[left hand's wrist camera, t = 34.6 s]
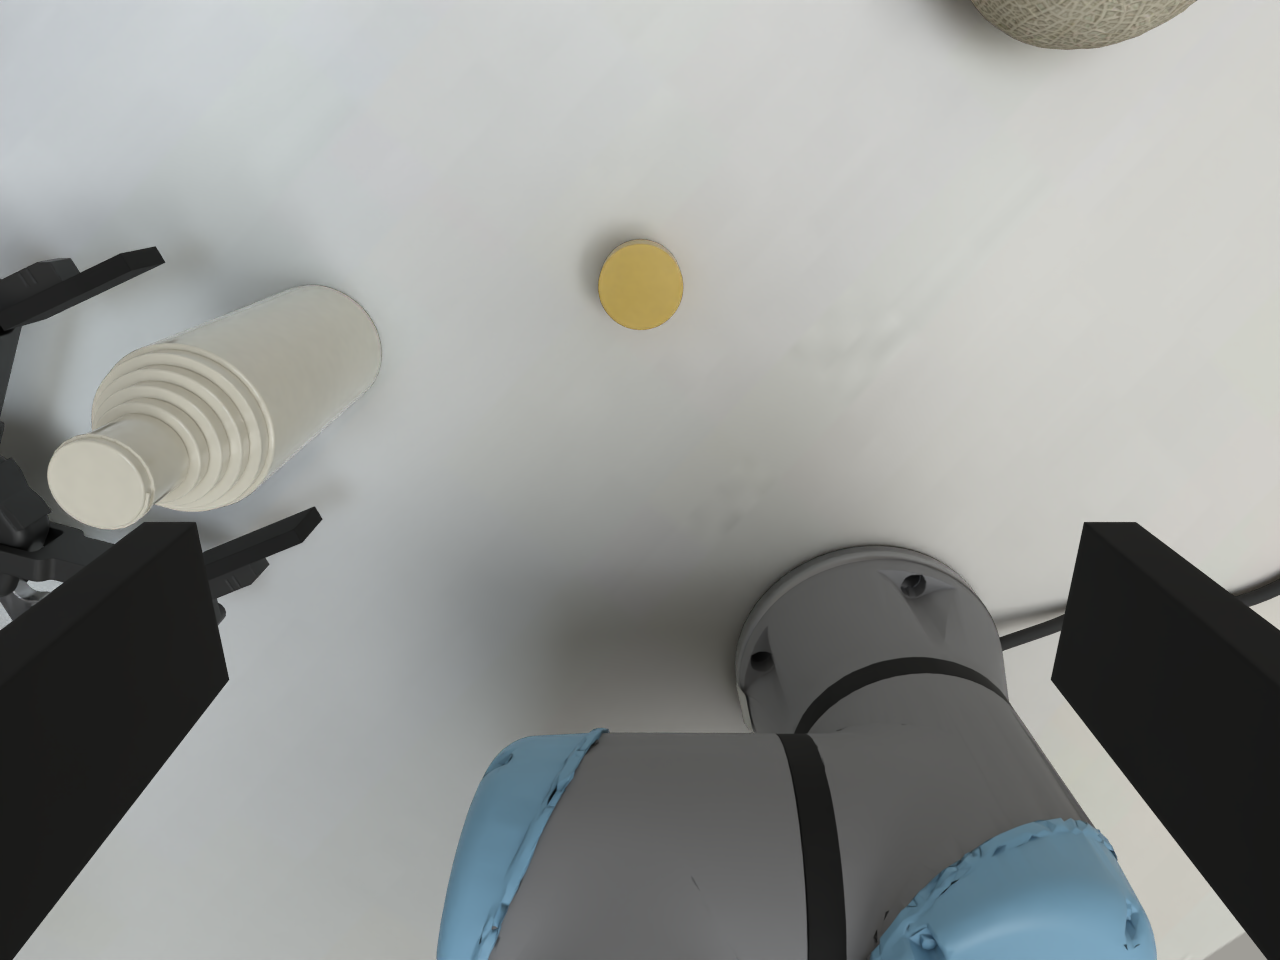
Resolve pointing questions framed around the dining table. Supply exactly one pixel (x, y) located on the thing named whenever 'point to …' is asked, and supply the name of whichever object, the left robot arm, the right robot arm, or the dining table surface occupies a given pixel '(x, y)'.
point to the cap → (640, 284)
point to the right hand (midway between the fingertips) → (232, 398)
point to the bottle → (216, 408)
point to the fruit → (1078, 20)
